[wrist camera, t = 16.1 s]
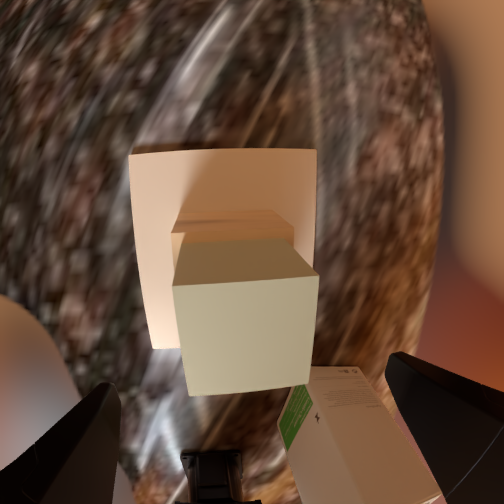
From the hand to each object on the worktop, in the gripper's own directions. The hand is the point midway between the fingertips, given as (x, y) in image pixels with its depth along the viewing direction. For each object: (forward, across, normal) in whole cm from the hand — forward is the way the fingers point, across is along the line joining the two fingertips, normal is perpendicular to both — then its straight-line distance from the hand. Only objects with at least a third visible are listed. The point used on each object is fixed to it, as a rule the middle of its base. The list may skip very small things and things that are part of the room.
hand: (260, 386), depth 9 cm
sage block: (+7, 0, 0) cm, 7 cm away
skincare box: (+13, -8, +15) cm, 22 cm away
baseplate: (+13, 0, 0) cm, 13 cm away
